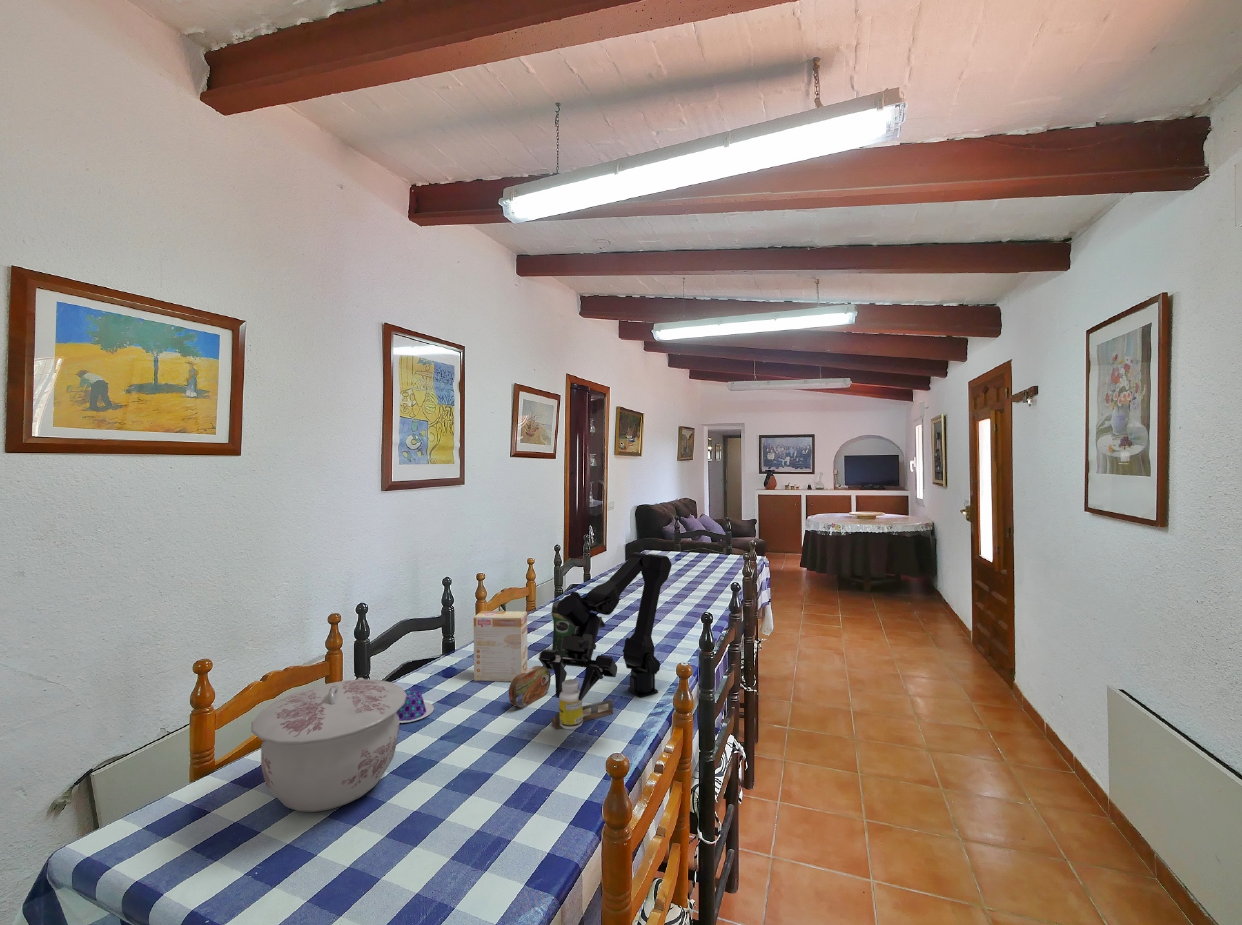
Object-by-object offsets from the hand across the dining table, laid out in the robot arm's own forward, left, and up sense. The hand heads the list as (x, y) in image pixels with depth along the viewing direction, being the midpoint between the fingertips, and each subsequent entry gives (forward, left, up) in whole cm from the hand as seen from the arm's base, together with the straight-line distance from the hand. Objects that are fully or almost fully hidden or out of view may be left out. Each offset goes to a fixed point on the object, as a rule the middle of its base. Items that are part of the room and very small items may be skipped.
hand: (568, 698), depth 123 cm
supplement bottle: (-1, -1, -7) cm, 7 cm away
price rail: (-8, -10, -11) cm, 17 cm away
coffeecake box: (+2, -47, -11) cm, 48 cm away
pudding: (+30, -36, -11) cm, 48 cm away
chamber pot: (+48, -9, -11) cm, 50 cm away
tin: (0, -27, -11) cm, 29 cm away
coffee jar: (-23, -54, -11) cm, 60 cm away
